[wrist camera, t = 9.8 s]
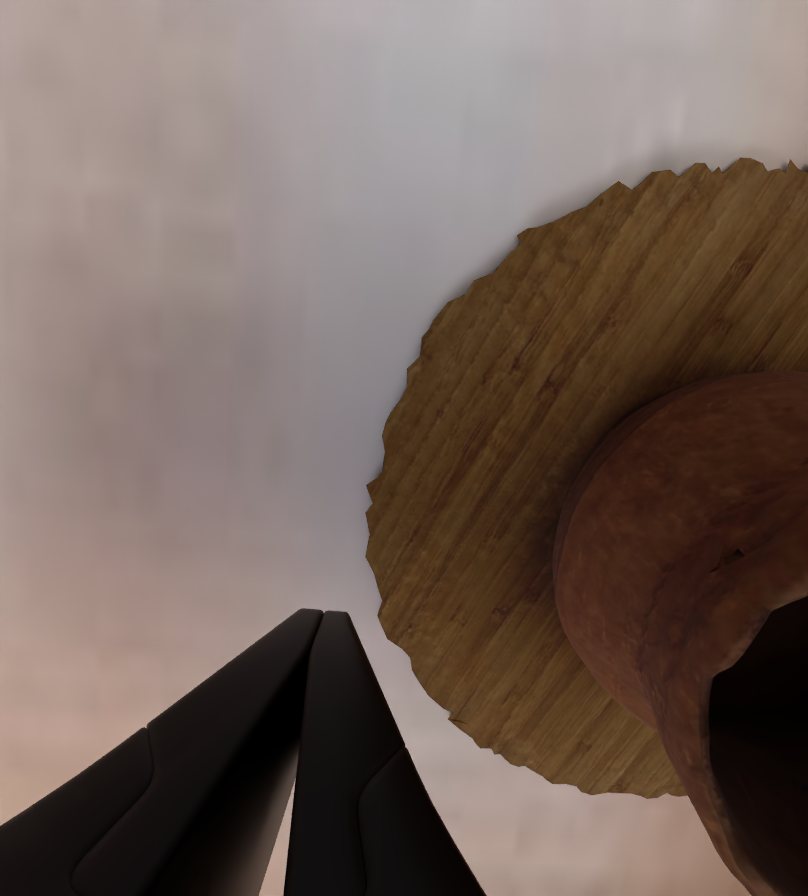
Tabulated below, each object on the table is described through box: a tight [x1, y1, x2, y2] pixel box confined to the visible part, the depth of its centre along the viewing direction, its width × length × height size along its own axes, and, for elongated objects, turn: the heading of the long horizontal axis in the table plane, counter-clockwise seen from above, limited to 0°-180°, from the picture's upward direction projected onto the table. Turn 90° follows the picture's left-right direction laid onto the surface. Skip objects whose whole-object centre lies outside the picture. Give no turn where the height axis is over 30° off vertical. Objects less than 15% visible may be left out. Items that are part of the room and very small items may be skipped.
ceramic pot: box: [365, 158, 808, 896], centre depth 9 cm, size 18×18×7 cm
